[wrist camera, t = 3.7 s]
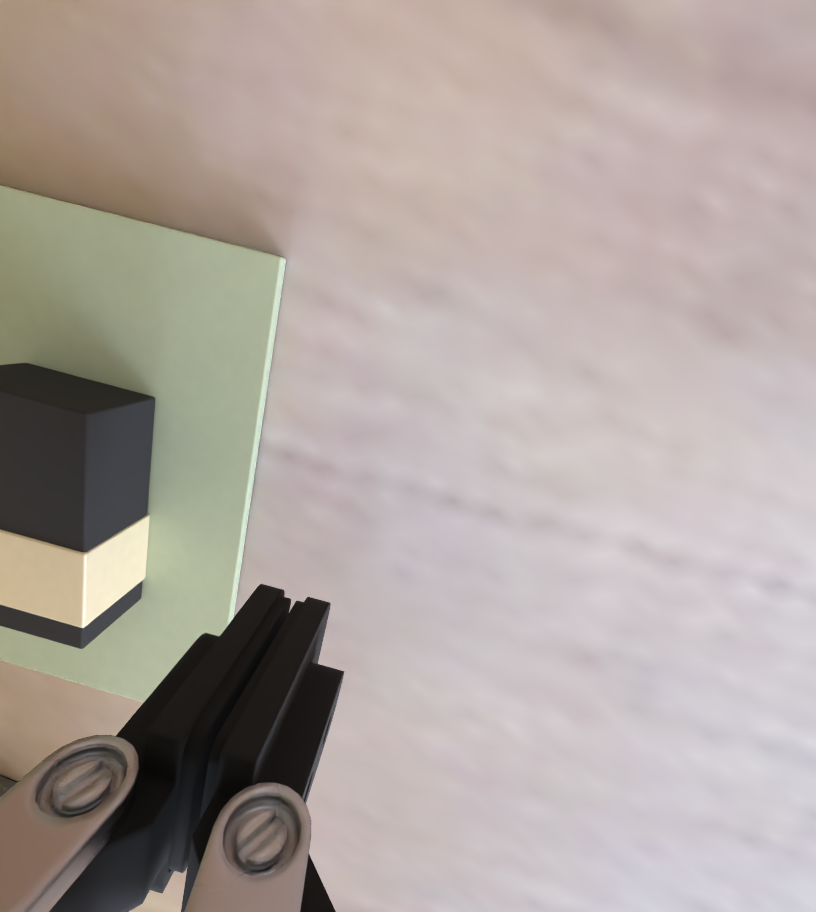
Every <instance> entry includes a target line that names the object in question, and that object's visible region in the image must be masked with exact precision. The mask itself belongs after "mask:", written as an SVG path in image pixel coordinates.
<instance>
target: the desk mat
mask: <svg viewBox="0 0 816 912" xmlns="http://www.w3.org/2000/svg"><path fill="white" fill-rule="evenodd" d="M285 265H286V259H285V258H284V257H281V256H278V255H274V254H270V253H266V252H262V251H258V250H254V249H250V248H246V247H242V246H238V245H234V244H230V243H226V242H222V241H218V240H215V239H211V238H207V237H203V236H199V235H195V234H191V233H187V232H183V231H179V230H175V229H171V228H167V227H163V226H159V225H155V224H151V223H148V222H144V221H140V220H136V219H132V218H128V217H124V216H120V215H116V214H112V213H108V212H104V211H100V210H96V209H92V208H88V207H84V206H81V205H77V204H73V203H69V202H65V201H61V200H57V199H53V198H49V197H45V196H41V195H37V194H33V193H29V192H25V191H21V190H17V189H14V188H10V187H6V186H2V185H0V365H5V364H17V363H30V364H33V365H37V366H41V367H44V368H48V369H52V370H56V371H59V372H63V373H67V374H71V375H74V376H78V377H82V378H86V379H89V380H93V381H97V382H101V383H104V384H108V385H112V386H116V387H119V388H123V389H127V390H131V391H134V392H138V393H142V394H146V395H149V396H153V397H155V412H154V426H153V440H152V454H151V469H150V483H149V497H148V511H147V514H149V515H150V521H149V535H148V548H147V562H146V576H145V578H144V579H143V581H142V595H141V599H140V600H139V601H138V602H137V603H136V604H134V605H133V606H132V607H131V608H130V609H129V610H127V611H126V612H125V613H124V614H123V615H122V616H121V617H119V618H118V619H117V620H116V621H115V622H114V623H112V624H111V625H110V626H109V627H108V628H107V629H105V630H104V631H103V632H102V633H101V634H100V635H99V636H97V637H96V638H95V639H94V640H93V641H92V642H90V643H89V644H88V645H87V646H86V647H85V648H83V649H79V648H75V647H72V646H68V645H65V644H61V643H58V642H54V641H51V640H48V639H44V638H41V637H37V636H34V635H30V634H27V633H23V632H20V631H16V630H13V629H9V628H6V627H2V626H0V660H1V661H4V662H8V663H11V664H14V665H18V666H21V667H25V668H28V669H32V670H35V671H39V672H42V673H45V674H49V675H52V676H56V677H59V678H63V679H66V680H69V681H73V682H76V683H80V684H83V685H87V686H90V687H94V688H97V689H100V690H104V691H107V692H111V693H114V694H118V695H121V696H125V697H128V698H131V699H135V700H138V701H142V702H145V701H146V699H147V698H148V697H149V696H150V695H151V694H152V692H153V691H154V690H155V689H156V688H157V686H158V685H159V684H160V683H161V682H162V680H163V679H164V678H165V677H166V676H167V674H168V673H169V672H170V671H171V670H172V668H173V667H174V666H175V665H176V664H177V662H178V661H179V660H180V659H181V658H182V657H183V655H184V654H185V653H186V652H187V651H188V649H189V648H190V647H191V646H192V645H193V643H194V642H195V641H196V640H197V639H198V638H199V637H200V636H201V635H202V634H204V633H209V634H213V635H216V636H220V635H221V634H222V633H223V631H224V630H225V629H226V627H227V626H228V625H229V623H230V622H231V621H232V620H233V618H234V611H235V605H236V598H237V591H238V584H239V577H240V571H241V564H242V557H243V550H244V543H245V537H246V530H247V523H248V516H249V509H250V503H251V496H252V489H253V482H254V475H255V469H256V462H257V455H258V448H259V441H260V435H261V428H262V421H263V414H264V407H265V401H266V394H267V387H268V380H269V373H270V367H271V360H272V353H273V346H274V339H275V333H276V326H277V319H278V312H279V305H280V299H281V292H282V285H283V278H284V272H285Z"/></svg>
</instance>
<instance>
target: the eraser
mask: <svg viewBox="0 0 816 912" xmlns="http://www.w3.org/2000/svg"><path fill="white" fill-rule="evenodd" d="M154 412H155V397H153V396H149V395H146V394H142V393H138V392H134V391H131V390H127V389H123V388H119V387H116V386H112V385H108V384H104V383H101V382H97V381H93V380H89V379H86V378H82V377H78V376H74V375H71V374H67V373H63V372H59V371H56V370H52V369H48V368H44V367H41V366H37V365H33V364H30V363H17V364H5V365H0V626H2V627H6V628H9V629H13V630H16V631H20V632H23V633H27V634H30V635H34V636H37V637H41V638H44V639H48V640H51V641H54V642H58V643H61V644H65V645H68V646H72V647H75V648H79V649H83V648H85V647H86V646H87V645H88V644H89V643H90V642H92V641H93V640H94V639H95V638H96V637H97V636H99V635H100V634H101V633H102V632H103V631H104V630H105V629H107V628H108V627H109V626H110V625H111V624H112V623H114V622H115V621H116V620H117V619H118V618H119V617H121V616H122V615H123V614H124V613H125V612H126V611H127V610H129V609H130V608H131V607H132V606H133V605H134V604H136V603H137V602H138V601H139V600H140V599H141V595H142V581H143V579H144V578H145V576H146V562H147V548H148V535H149V521H150V515H149V514H147V511H148V497H149V483H150V469H151V454H152V440H153V426H154Z"/></svg>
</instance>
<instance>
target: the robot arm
mask: <svg viewBox="0 0 816 912" xmlns="http://www.w3.org/2000/svg"><path fill="white" fill-rule="evenodd" d="M290 603H291V599H289V598H286V597H284V590H282V589H278V588H274V587H271V586H267V585H263V584H260V585H259V586H258V587H257V588H256V590H255V591H254V592H253V594H252V595H251V596H250V598H249V599H248V600H247V601H246V603H245V604H244V605H243V607H242V608H241V609H240V610H239V612H238V613H237V614H236V616H235V617H234V618H233V620H232V621H231V622H230V623H229V625H228V626H227V627H226V629H225V630H224V631H223V633H222V634H221V635H220V636H216V635H213V634H209V633H204V634H202V635H201V636H200V637H199V638H198V639H197V640H196V641H195V642H194V643H193V645H192V646H191V647H190V648H189V649H188V651H187V652H186V653H185V654H184V655H183V657H182V658H181V659H180V660H179V661H178V662H177V664H176V665H175V666H174V667H173V668H172V670H171V671H170V672H169V673H168V674H167V676H166V677H165V678H164V679H163V680H162V682H161V683H160V684H159V685H158V686H157V688H156V689H155V690H154V691H153V692H152V694H151V695H150V696H149V697H148V698H147V699H146V701H145V702H144V703H143V704H142V705H141V707H140V708H139V709H138V710H137V711H136V713H135V714H134V715H133V716H132V717H131V719H130V720H129V721H128V722H127V723H126V725H125V726H124V727H123V728H122V729H121V731H120V732H119V733H118V734H117V735H116V736H112V735H94V736H90V737H86V738H82V739H78V740H76V741H74V742H72V743H69V744H67V745H65V746H63V747H61V748H60V749H58V750H57V751H55V752H54V753H52V754H51V755H50V756H48V757H47V758H45V759H44V760H43V761H42V762H41V763H40V764H38V765H37V766H36V767H35V768H34V769H33V770H31V771H30V772H29V773H28V774H27V775H26V776H24V777H23V778H22V779H21V780H20V781H19V782H17V783H16V784H15V785H14V786H13V787H12V788H10V789H9V790H8V791H7V792H6V793H5V794H3V795H2V796H1V797H0V912H128V911H130V910H132V909H134V908H135V907H137V906H139V905H140V904H142V903H143V901H144V900H145V898H146V896H147V894H148V892H149V890H153V891H156V892H159V893H163V891H164V889H165V887H166V885H167V883H168V882H169V880H170V878H171V876H172V874H173V872H174V871H178V872H181V873H183V872H184V871H185V870H186V868H187V867H188V868H187V875H186V882H185V889H184V896H183V902H182V909H181V912H335V909H334V907H333V905H332V903H331V901H330V899H329V896H328V894H327V892H326V890H325V888H324V886H323V883H322V881H321V879H320V877H319V875H318V873H317V870H316V868H315V866H314V864H313V862H312V860H311V857H310V855H309V847H310V840H311V818H310V815H309V811H308V808H307V805H306V801H307V798H308V795H309V792H310V789H311V786H312V782H313V779H314V776H315V773H316V770H317V767H318V763H319V760H320V757H321V754H322V751H323V748H324V744H325V741H326V738H327V735H328V732H329V728H330V725H331V721H332V718H333V714H334V711H335V707H336V703H337V699H338V696H339V692H340V688H341V684H342V679H343V675H344V671H341V670H337V669H333V668H330V667H326V666H323V665H319V664H318V659H319V655H320V650H321V646H322V641H323V637H324V633H325V628H326V624H327V619H328V615H329V610H330V603H329V602H325V601H321V600H318V599H314V598H310V597H307V598H306V600H305V602H300V601H296V603H295V604H294V606H293V607H292V609H291V611H290V613H289V609H290Z"/></svg>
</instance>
